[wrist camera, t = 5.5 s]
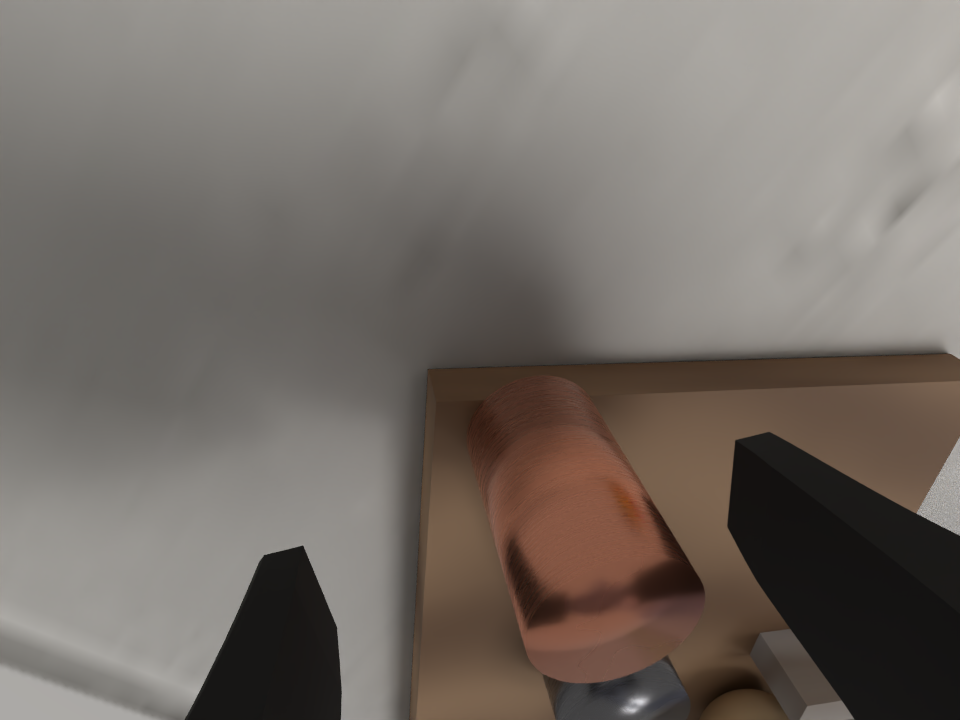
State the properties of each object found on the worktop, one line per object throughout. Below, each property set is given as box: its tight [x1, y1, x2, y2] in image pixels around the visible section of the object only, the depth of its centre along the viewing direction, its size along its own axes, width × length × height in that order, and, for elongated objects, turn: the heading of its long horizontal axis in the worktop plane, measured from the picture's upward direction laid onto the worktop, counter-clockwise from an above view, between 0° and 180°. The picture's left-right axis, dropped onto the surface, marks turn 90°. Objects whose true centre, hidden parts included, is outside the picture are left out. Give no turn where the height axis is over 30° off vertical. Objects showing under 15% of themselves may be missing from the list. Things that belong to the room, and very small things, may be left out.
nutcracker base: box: [409, 354, 960, 720], centre depth 17 cm, size 15×13×3 cm
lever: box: [467, 375, 705, 720], centre depth 14 cm, size 14×3×4 cm, turn 16°
